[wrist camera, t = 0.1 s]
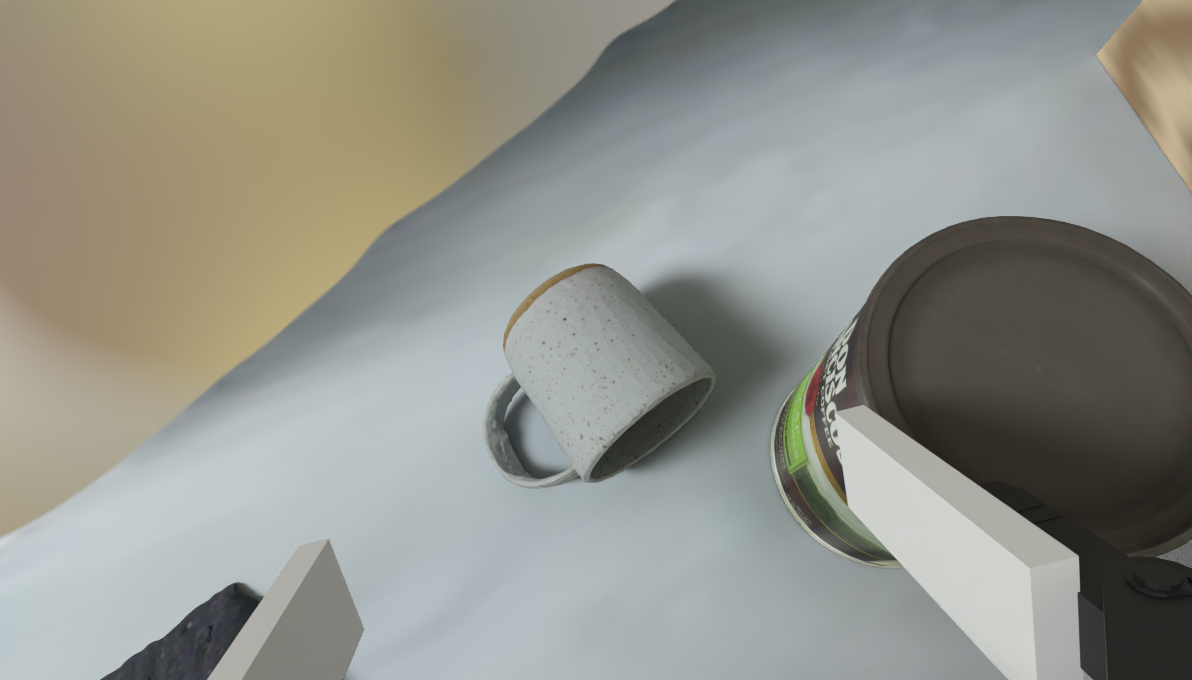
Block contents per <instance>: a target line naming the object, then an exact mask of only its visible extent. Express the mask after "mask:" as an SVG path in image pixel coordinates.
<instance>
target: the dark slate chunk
mask: <svg viewBox="0 0 1192 680" xmlns="http://www.w3.org/2000/svg"><path fill="white" fill-rule="evenodd" d="M258 605H259V604H258V603H257V601H256V600H255V599H254V598H251V597H249V596H244V595H241V594H239V593H237V592H236V585H235V583H234V584H231V585H229V586H227V587H226V588H225V589H224V590H222V591H221V592H218V593H217V594H215V595H214V596H213V597H212V598H211V599H210V600H208V601H207V602H205V603H203V604H201V605H200V606H198V607H197V608H195V609H194V610H193V611H192V612H191V613H189V614H188V615H187V616H186V617H185V618H184V619H183V620H182V621H181V622H180V623H179V624H178V625H177V626H176V627H175V628H174V629H173V630H171V631H170V632H169V633H168V634H167V635H166V636H165V637H164V638H162V639H160V640H157V641H154V642H152V643H150V644H149V645H147V646H146V648H145V649H144V650H142V651H141V652H139V653H137V654H135V655H133V656H132V657H130V658H129V659H128V660H127V661H126V662H125V663H124V664H123V665H122V666H121V667H120V668H118V669H117V670H115V671H114V672H112V673H110V674H108V675H107V676H105V677H104V678H102V679H101V680H207V679H208V677H209V676H210V675H211V673H212V672H213V670H214V669H215V667H216V666H217V664H218V663H219V661H220V660H221V659H222V657H223V656H224V654H225V653H226V651H227V650H228V648H229V647H230V645H231V644H232V643H233V641H234V640H235V638H236V637H237V635H238V634H239V632H240V631H241V630H242V628H243V627H244V625H245V624H246V622H247V621H248V619H249V618H250V616H251V615H252V614H253V612H254V611H255V609H256V608H257V606H258Z"/></svg>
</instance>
